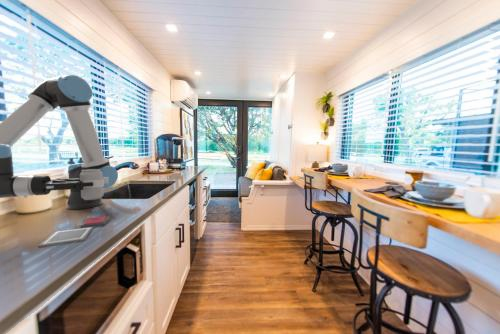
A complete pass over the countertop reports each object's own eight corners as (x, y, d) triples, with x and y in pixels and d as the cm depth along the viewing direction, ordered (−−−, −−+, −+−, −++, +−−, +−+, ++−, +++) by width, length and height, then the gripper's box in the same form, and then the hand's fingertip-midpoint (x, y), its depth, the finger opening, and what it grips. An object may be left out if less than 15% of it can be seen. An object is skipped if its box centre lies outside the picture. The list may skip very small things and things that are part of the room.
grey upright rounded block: (92, 200, 84) (89, 170, 83) (76, 199, 86) (74, 170, 84) (108, 196, 91) (106, 168, 90) (93, 195, 93) (91, 168, 92)
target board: (55, 233, 80) (55, 231, 80) (93, 228, 85) (93, 226, 84) (38, 247, 69) (38, 245, 69) (84, 240, 74) (83, 238, 73)
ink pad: (87, 221, 92) (87, 217, 92) (109, 218, 95) (109, 215, 95) (80, 228, 84) (80, 224, 84) (104, 225, 87) (104, 222, 87)
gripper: (48, 190, 91) (111, 186, 99) (19, 201, 72) (100, 195, 81) (46, 172, 90) (110, 170, 99) (17, 179, 71) (98, 175, 80)
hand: (105, 181), depth 90 cm, fingers closed on grey upright rounded block, 7 cm apart
